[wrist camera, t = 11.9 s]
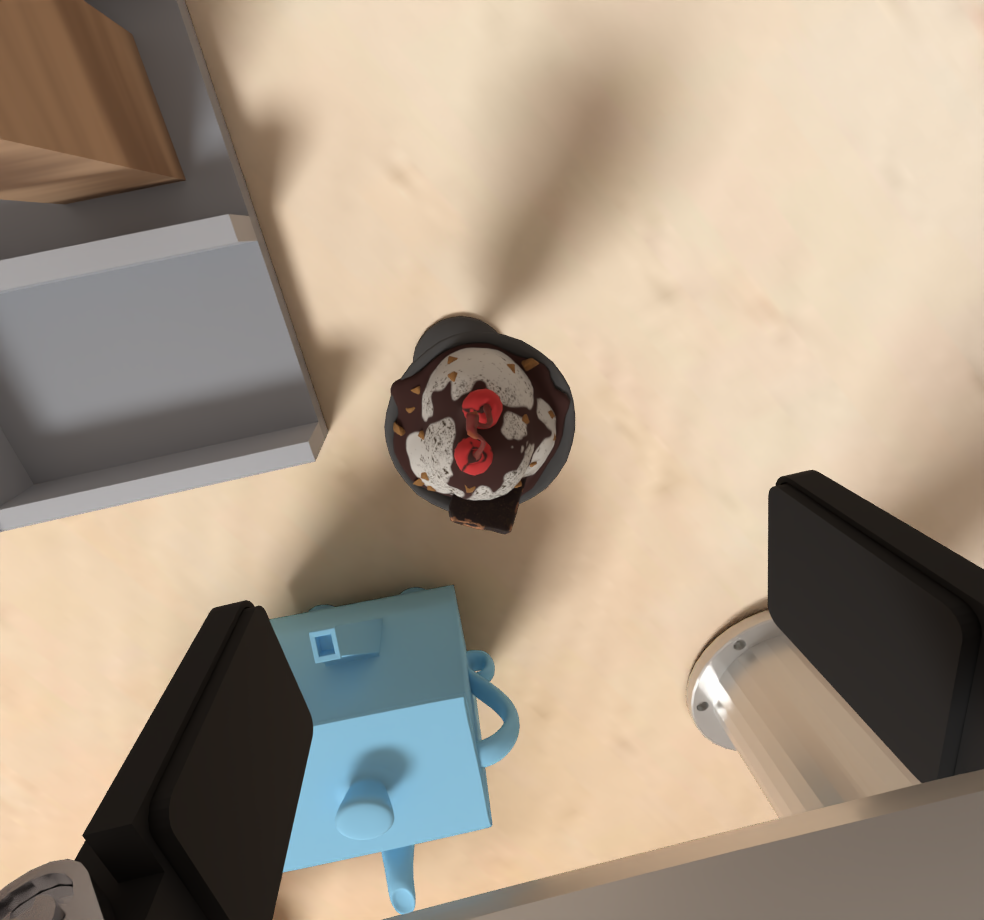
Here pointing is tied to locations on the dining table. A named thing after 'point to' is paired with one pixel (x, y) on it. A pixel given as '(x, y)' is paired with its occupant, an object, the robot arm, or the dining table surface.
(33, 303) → the grey divided tray
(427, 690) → the teapot
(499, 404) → the sundae
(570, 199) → the dining table surface
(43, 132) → the walnut block
